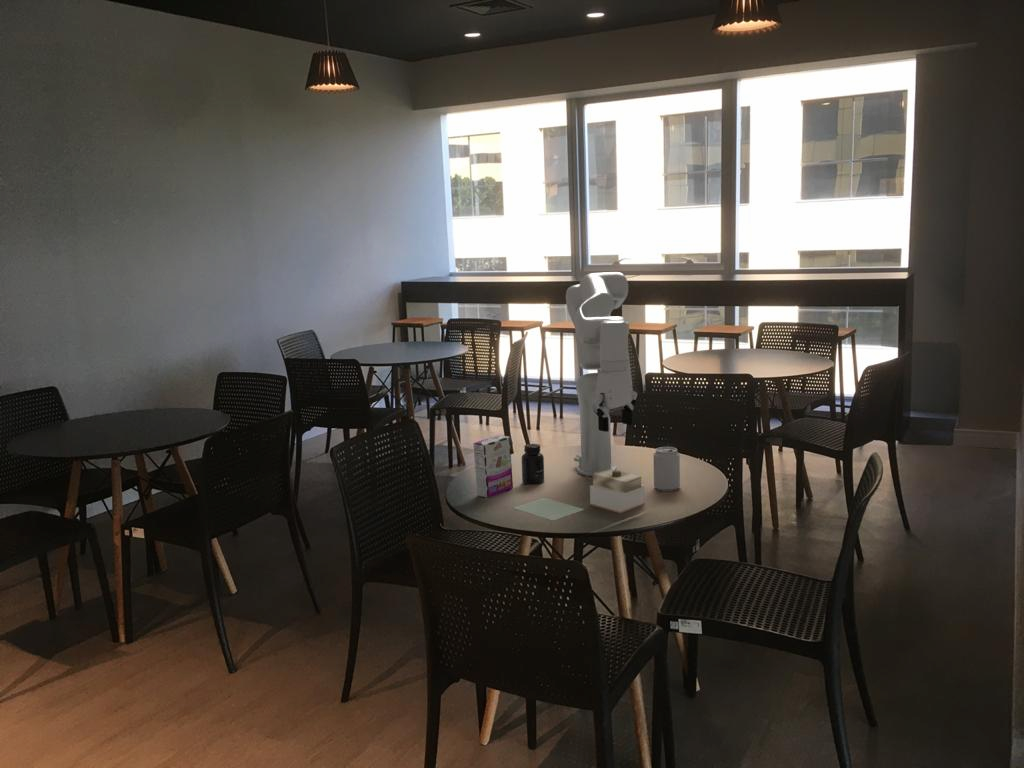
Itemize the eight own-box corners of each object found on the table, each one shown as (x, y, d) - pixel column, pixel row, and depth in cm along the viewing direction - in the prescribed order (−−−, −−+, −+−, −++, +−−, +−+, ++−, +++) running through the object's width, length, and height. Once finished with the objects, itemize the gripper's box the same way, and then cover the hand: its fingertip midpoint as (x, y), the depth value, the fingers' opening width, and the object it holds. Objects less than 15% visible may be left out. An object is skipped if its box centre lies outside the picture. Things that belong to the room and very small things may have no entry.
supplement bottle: (542, 486, 254) (541, 448, 252) (520, 486, 255) (519, 448, 253) (546, 480, 261) (544, 442, 259) (524, 479, 262) (522, 442, 260)
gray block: (590, 506, 234) (589, 486, 233) (614, 498, 240) (613, 478, 239) (620, 515, 226) (620, 493, 224) (644, 506, 232) (644, 485, 231)
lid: (592, 484, 234) (592, 470, 233) (608, 479, 238) (608, 465, 238) (625, 492, 225) (625, 478, 225) (641, 487, 230) (641, 473, 229)
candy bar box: (501, 486, 256) (498, 434, 253) (513, 489, 253) (511, 436, 250) (475, 496, 248) (472, 442, 245) (487, 499, 245) (484, 444, 242)
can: (679, 492, 243) (679, 452, 241) (653, 491, 244) (652, 452, 242) (680, 484, 250) (679, 445, 248) (654, 484, 252) (653, 445, 249)
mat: (513, 509, 234) (512, 507, 234) (543, 499, 242) (543, 497, 242) (553, 522, 222) (553, 520, 222) (584, 511, 230) (584, 509, 230)
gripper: (624, 360, 235) (626, 419, 238) (582, 369, 224) (583, 431, 227) (645, 362, 229) (646, 423, 233) (603, 372, 218) (604, 435, 221)
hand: (615, 427), depth 230 cm, fingers open, 9 cm apart
